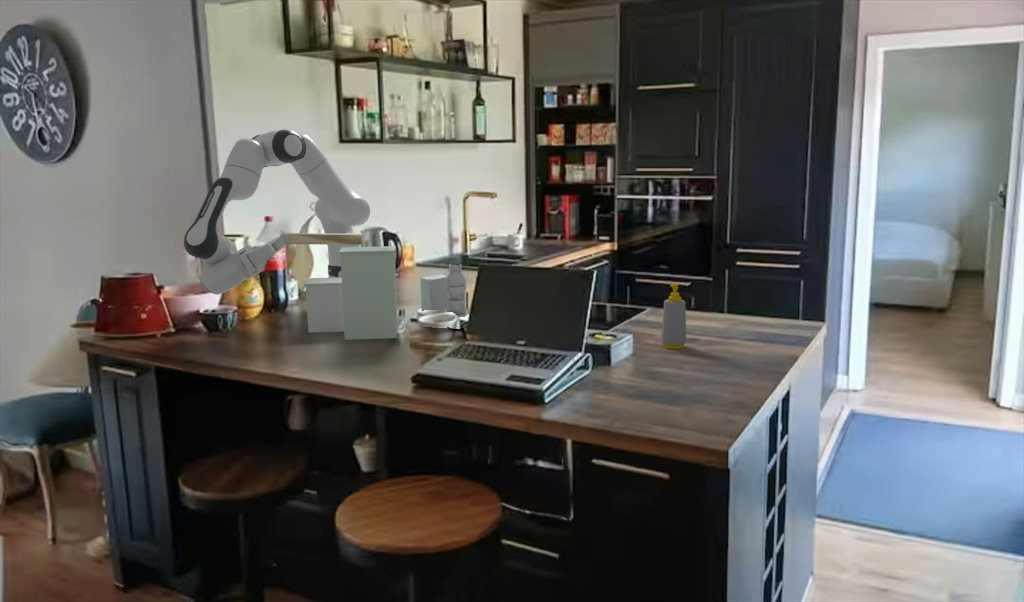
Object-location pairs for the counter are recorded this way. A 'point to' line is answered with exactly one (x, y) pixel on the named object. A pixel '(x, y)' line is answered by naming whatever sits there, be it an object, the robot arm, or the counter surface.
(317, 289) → the grey box
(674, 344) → the soap bottle
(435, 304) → the skincare box
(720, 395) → the counter surface
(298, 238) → the rail
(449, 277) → the plastic bottle
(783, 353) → the counter surface
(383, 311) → the stand
